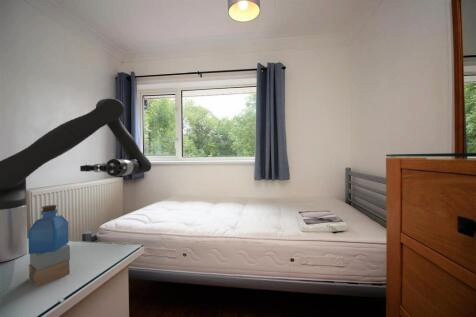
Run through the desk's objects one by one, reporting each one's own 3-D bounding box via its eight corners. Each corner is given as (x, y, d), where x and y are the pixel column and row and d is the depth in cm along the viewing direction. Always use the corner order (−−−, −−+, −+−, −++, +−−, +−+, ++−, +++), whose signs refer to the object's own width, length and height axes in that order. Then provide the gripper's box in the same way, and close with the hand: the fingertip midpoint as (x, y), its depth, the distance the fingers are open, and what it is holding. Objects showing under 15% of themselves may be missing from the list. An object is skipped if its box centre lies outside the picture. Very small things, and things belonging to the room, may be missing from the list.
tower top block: (30, 263, 58) (29, 249, 58) (61, 253, 64) (61, 241, 64) (37, 270, 54) (37, 255, 54) (70, 259, 60) (69, 245, 60)
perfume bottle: (55, 251, 57) (55, 207, 57) (28, 254, 55) (28, 209, 55) (68, 242, 63) (67, 203, 63) (44, 244, 61) (43, 204, 62)
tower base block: (29, 278, 58) (28, 264, 58) (60, 267, 64) (60, 254, 64) (36, 286, 54) (36, 271, 54) (69, 273, 60) (69, 260, 60)
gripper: (105, 159, 93) (73, 158, 77) (135, 158, 92) (110, 158, 76) (105, 175, 93) (73, 178, 77) (135, 175, 92) (110, 178, 76)
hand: (91, 168), depth 76 cm, fingers open, 8 cm apart
